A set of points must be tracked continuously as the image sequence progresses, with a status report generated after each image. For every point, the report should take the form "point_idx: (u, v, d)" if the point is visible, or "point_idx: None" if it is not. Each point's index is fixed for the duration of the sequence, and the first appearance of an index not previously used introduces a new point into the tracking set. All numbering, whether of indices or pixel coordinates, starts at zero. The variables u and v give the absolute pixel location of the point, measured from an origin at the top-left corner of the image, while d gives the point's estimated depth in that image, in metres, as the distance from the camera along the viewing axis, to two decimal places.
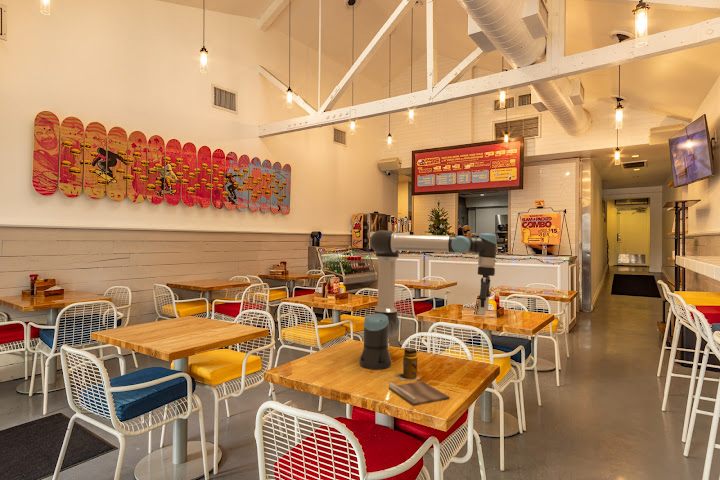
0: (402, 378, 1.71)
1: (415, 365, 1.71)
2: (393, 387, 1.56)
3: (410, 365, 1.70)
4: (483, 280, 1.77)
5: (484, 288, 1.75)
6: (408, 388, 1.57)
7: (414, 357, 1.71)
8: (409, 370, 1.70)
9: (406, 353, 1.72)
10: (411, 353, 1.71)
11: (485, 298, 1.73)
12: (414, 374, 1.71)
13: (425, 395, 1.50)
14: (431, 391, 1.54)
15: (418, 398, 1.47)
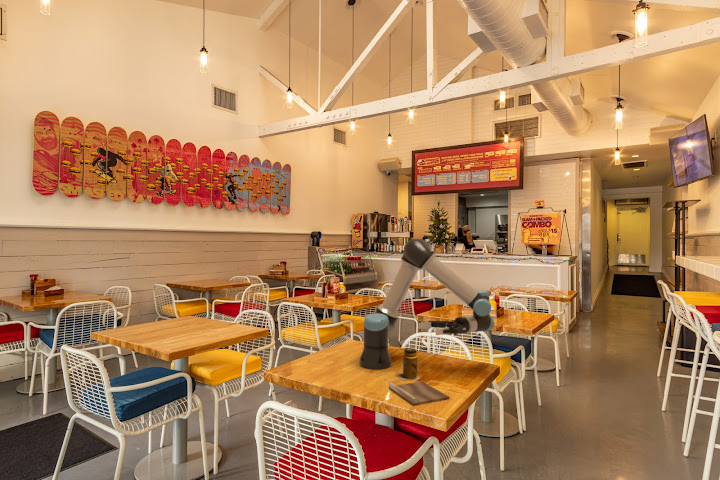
0: (402, 378, 1.71)
1: (415, 365, 1.71)
2: (393, 387, 1.56)
3: (410, 365, 1.70)
4: (464, 328, 1.77)
5: (460, 331, 1.75)
6: (408, 388, 1.57)
7: (414, 357, 1.71)
8: (409, 370, 1.70)
9: (406, 353, 1.72)
10: (411, 353, 1.71)
11: (455, 334, 1.72)
12: (414, 374, 1.71)
13: (425, 395, 1.50)
14: (431, 391, 1.54)
15: (418, 398, 1.47)
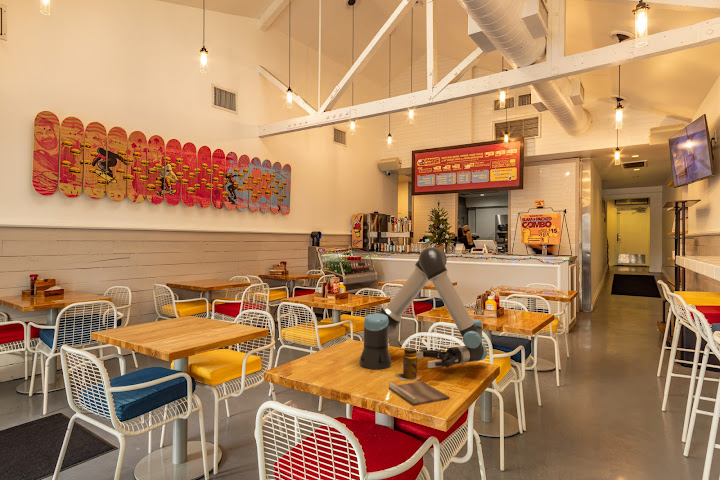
0: (402, 378, 1.71)
1: (415, 365, 1.71)
2: (393, 387, 1.56)
3: (410, 365, 1.70)
4: (456, 360, 1.75)
5: (452, 363, 1.72)
6: (408, 388, 1.57)
7: (414, 357, 1.71)
8: (409, 370, 1.70)
9: (406, 353, 1.72)
10: (411, 353, 1.71)
11: (447, 367, 1.69)
12: (414, 374, 1.71)
13: (425, 395, 1.50)
14: (431, 391, 1.54)
15: (418, 398, 1.47)
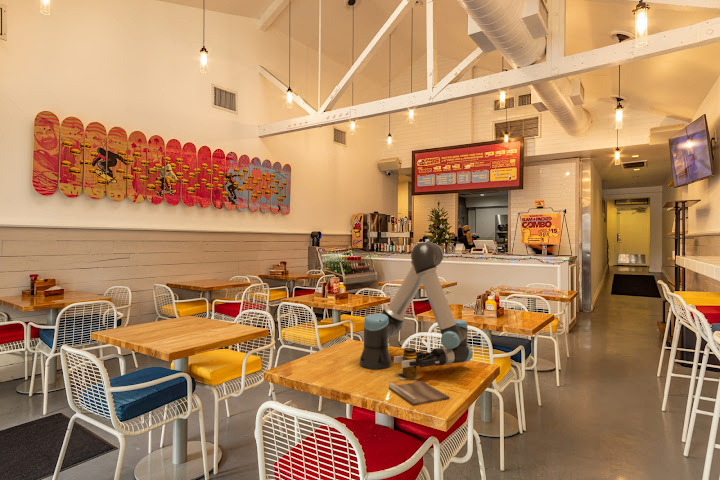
0: (402, 378, 1.71)
1: None
2: (393, 387, 1.56)
3: None
4: (436, 361, 1.72)
5: (429, 364, 1.70)
6: (408, 388, 1.57)
7: (413, 357, 1.71)
8: (408, 370, 1.70)
9: (405, 353, 1.72)
10: (411, 353, 1.71)
11: None
12: (413, 374, 1.71)
13: (425, 395, 1.50)
14: (431, 391, 1.54)
15: (418, 398, 1.47)
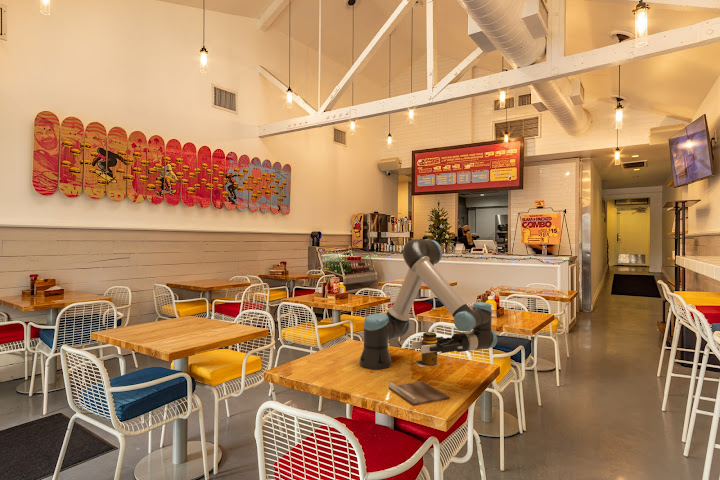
0: (421, 365, 1.54)
1: None
2: (393, 387, 1.56)
3: None
4: (459, 346, 1.55)
5: (452, 349, 1.53)
6: (408, 388, 1.57)
7: (434, 341, 1.54)
8: (428, 356, 1.53)
9: (425, 337, 1.55)
10: (431, 337, 1.54)
11: (442, 352, 1.51)
12: (434, 360, 1.54)
13: (425, 395, 1.50)
14: (431, 391, 1.54)
15: (418, 398, 1.47)
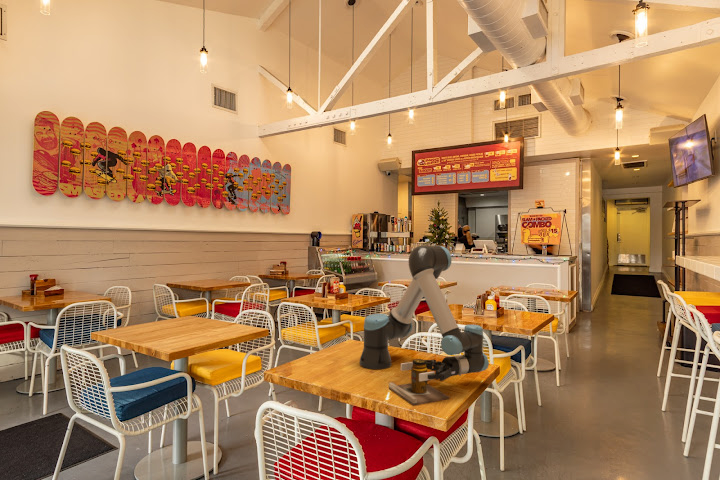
0: (410, 393, 1.52)
1: None
2: (393, 387, 1.56)
3: None
4: (453, 371, 1.53)
5: (448, 375, 1.50)
6: None
7: (424, 369, 1.52)
8: (418, 384, 1.51)
9: (414, 365, 1.52)
10: (421, 365, 1.52)
11: None
12: (424, 388, 1.52)
13: (425, 395, 1.50)
14: (431, 391, 1.54)
15: (418, 398, 1.47)
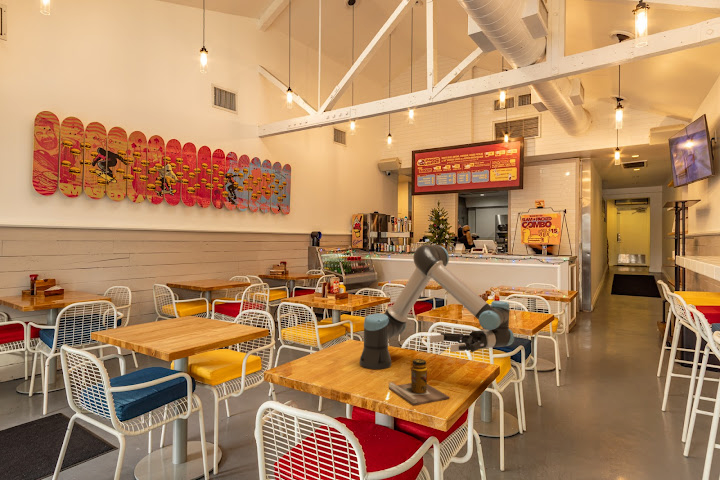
0: (410, 393, 1.52)
1: (425, 378, 1.52)
2: (393, 387, 1.56)
3: (419, 379, 1.51)
4: (482, 344, 1.58)
5: (477, 347, 1.55)
6: None
7: (424, 369, 1.52)
8: (418, 384, 1.51)
9: (414, 365, 1.52)
10: (421, 365, 1.52)
11: (472, 351, 1.52)
12: (424, 388, 1.52)
13: (425, 395, 1.50)
14: (431, 391, 1.54)
15: (418, 398, 1.47)
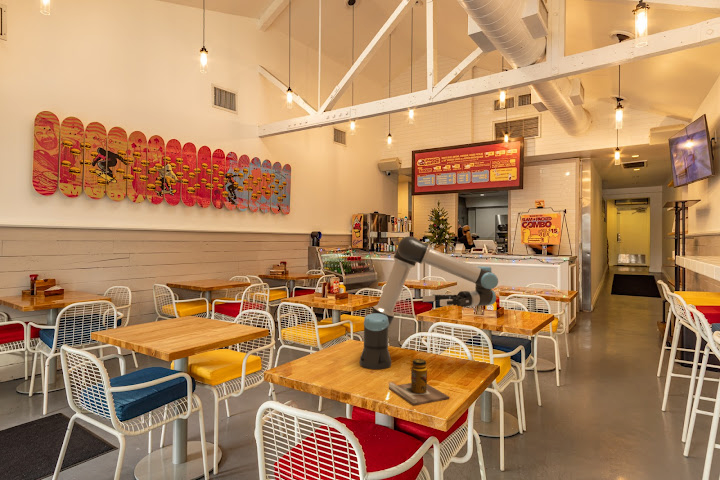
0: (410, 393, 1.52)
1: (425, 378, 1.52)
2: (393, 387, 1.56)
3: (419, 379, 1.51)
4: (467, 300, 1.83)
5: (463, 303, 1.81)
6: None
7: (424, 369, 1.52)
8: (418, 384, 1.51)
9: (414, 365, 1.52)
10: (421, 365, 1.52)
11: (458, 305, 1.77)
12: (424, 388, 1.52)
13: (425, 395, 1.50)
14: (431, 391, 1.54)
15: (418, 398, 1.47)
